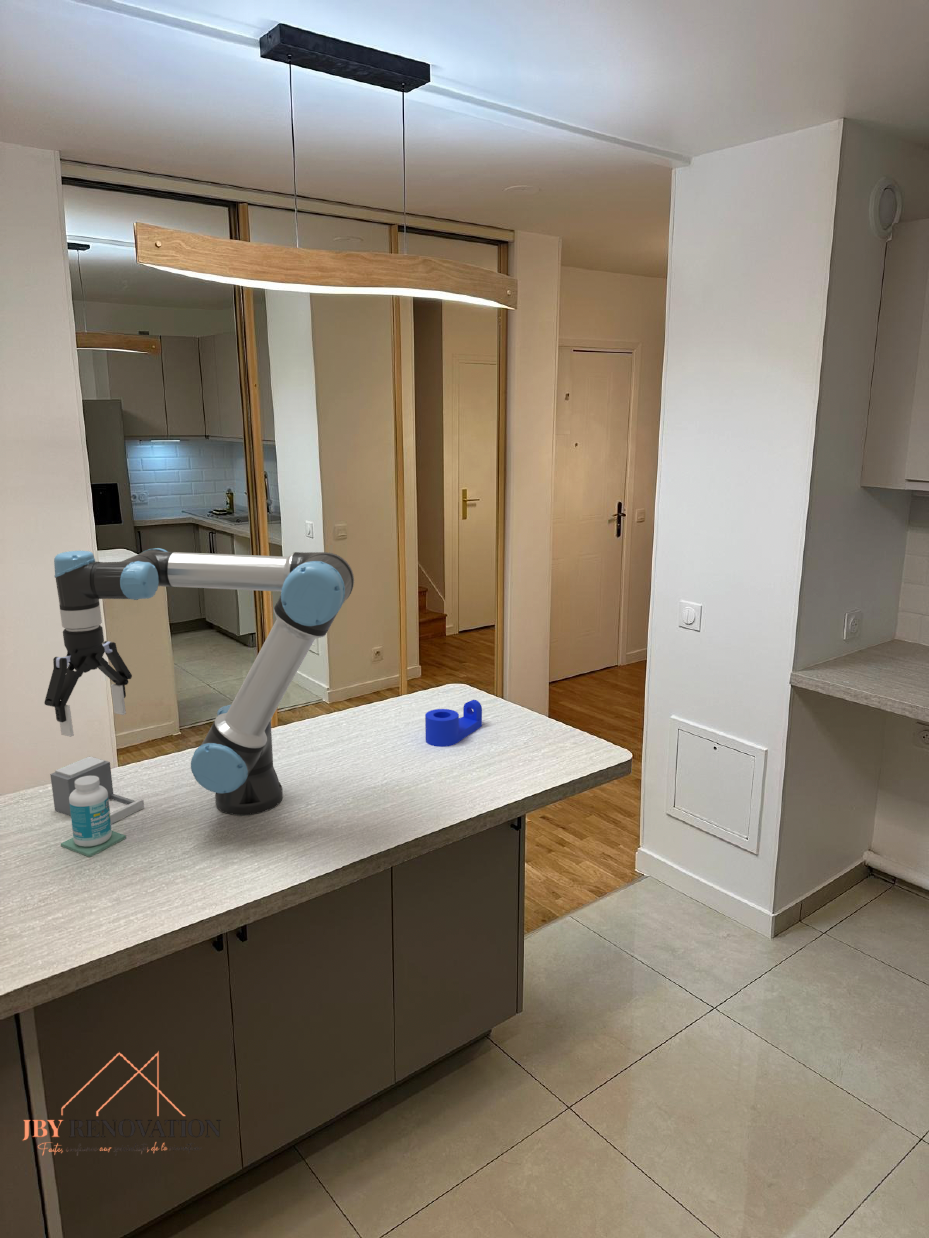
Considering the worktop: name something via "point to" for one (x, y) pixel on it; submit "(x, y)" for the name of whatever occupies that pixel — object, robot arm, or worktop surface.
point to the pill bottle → (90, 812)
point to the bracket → (452, 724)
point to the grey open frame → (97, 767)
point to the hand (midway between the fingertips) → (94, 724)
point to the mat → (93, 849)
